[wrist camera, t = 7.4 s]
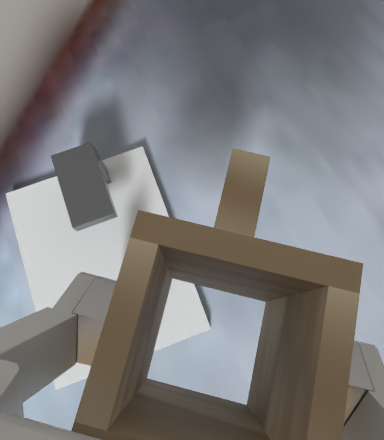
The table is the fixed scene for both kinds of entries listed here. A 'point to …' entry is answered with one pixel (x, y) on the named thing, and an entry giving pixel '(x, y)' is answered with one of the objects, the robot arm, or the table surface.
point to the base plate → (95, 247)
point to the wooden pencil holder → (268, 341)
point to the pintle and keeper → (84, 186)
